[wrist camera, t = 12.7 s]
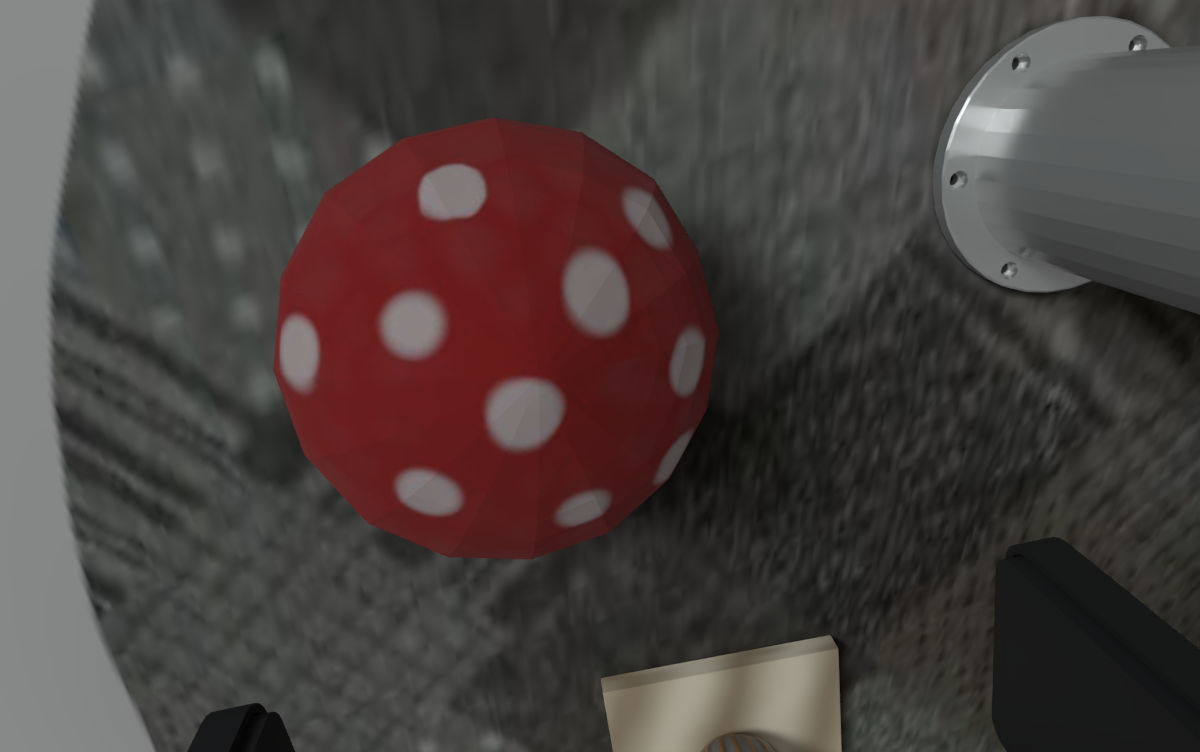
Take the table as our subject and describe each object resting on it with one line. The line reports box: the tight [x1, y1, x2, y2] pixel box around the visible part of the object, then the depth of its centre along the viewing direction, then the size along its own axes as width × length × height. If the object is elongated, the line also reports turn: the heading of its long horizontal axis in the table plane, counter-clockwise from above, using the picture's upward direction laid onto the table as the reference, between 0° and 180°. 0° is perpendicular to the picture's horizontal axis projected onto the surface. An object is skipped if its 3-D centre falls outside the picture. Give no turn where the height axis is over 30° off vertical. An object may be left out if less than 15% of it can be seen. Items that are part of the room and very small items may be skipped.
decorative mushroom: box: [273, 117, 719, 559], centre depth 29 cm, size 16×16×15 cm
